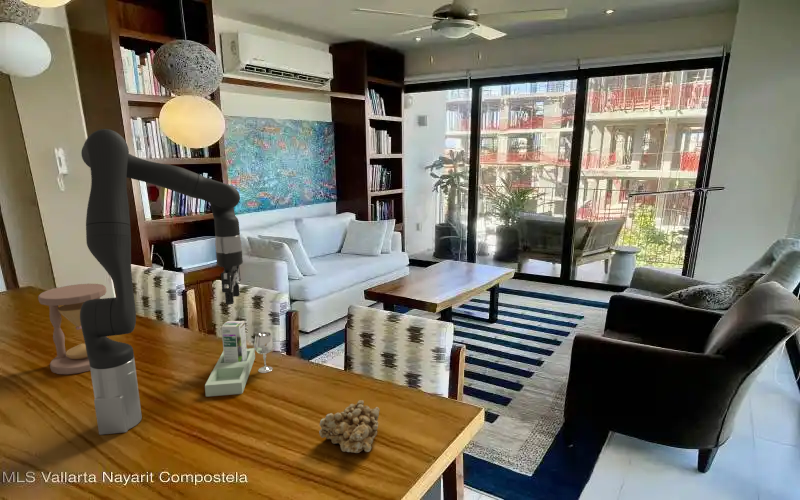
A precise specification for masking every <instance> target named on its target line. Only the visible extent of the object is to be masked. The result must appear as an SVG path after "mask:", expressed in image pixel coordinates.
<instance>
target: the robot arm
mask: <svg viewBox="0 0 800 500" xmlns="http://www.w3.org/2000/svg"><path fill="white" fill-rule="evenodd" d="M129 151H130V149H129V147H128V143H127V141H126V140H125V139H124V137H123V136H122V135H121V134H120V133H118V132H117V131H114V130H113V129H109V128H104V129H98V130H96V131H94V132H93V131H92V133H91V134H89V135H88V137H87V138H86V140H85V141H84V144H83V145H82V149H81V158H82V160H83V162H84V164H85V165H87V167H88V168H90V169H89V170H90V176H91V179H90V180H91V185H90V193H89V197H88V203H87V209H86V215H85V216H86V217H85V231H86V232H85V233H86V234H85V237H86V239H85V240H86V245H87V248H88V251H89V252H90V253H91V255H93V257H94V258H95V260H96V261H97V262H99V265H100V266H102V268H104V270H105V271H106V272H107V274H108V275H109V277H110V278H111V280H112V282H113V284H114V288H115V292H116V297H108V298H107V297H105V298H100V299H93V300H88V301H85V302H84V303H83V305H82V307H81V310H80V322H81V328H82V329H81V333H82V336H83V341H84V344H85V346H86V351H87V356H88V359H89V364H90V376H91V384H92V388H93V389H92V391H93V397H94V399H93V401H94V409H95V416H96V424H97V429H98V435H100V436H103V435H109V434H110V435H111V434H121V433H122V434H123V433H127V432H128V430H131V429H132V428H134V427H136V426H137V425H139V423H140V422H141V421H142V418H143V417H142V410H141V408H142V407H141V399H140V393H139V392H140V391H139V385H138V378H137V368H136V362H135V360H136V359H135V354H134V348H133V346H132V345H131V344H128V343H126V342H121V341H116V340H113V339H111V338H109V337H111V336H112V337H113V336H121V335H127V334H128V335H129V334H131V333H133V332H134V330H135V327H136V322H137V310H136V301H135V293H134V292H135V291H134V285H133V275H132V273H133V272H132V236H131V235H132V232H131V230H132V229H131V219H130V206H129V205H130V204H129V198H128V197H129V196H128V189H127V188H128V187H127V179H133V180H137V181H141V182H143V183H149V184H152V185H155V186H157V187H161V188H163V189H167V190H170V191H173V192H175V193H178V194H181V195H184V196H186V197H190V198H193V199H198V200H202V201H205V202H207V203H209V205H210V209H211V212H212V216H213V220H214V221H213V222H214V234H215V241H214V242H215V255H216V256H215V257H216V265H217V266H218V267H220V268H221V267H222V268H223V271H222V272H221V273H220V279H221V280H220V281H221V292H222V293H224V297H225V298H224V299H225V304H226V305H233V304H234V303H235V301H234V298H235V297H239V296H240V294H241V293H240V283H241V280H242V278H241V270H240V266H241V265H243V263H244V261H243V260H244V259H243V258H244V257H243V246H242V240H241V235H240V234H241V232H240V222H239V219H238V217H237V216H236V212H235V207H236V206H237V205H238V204H239V203H240V200H241V195H240V193H239V191H238V190H237V188H235V187H234V186H232V185H230V184H227V183H224V182H221V181H218V180H215V179H212V178H208V177H206V176H204V175H201V174H199V173H196V172H194V171H191V170H189V169H186V168H184V167H180V166H178V165H177V166H176V165H172V164H165V163H161V162H155V161H151V160H146V159H143V158H139V157H138V156H135V155H133V154H131V153H129ZM106 336H107V337H106Z"/></svg>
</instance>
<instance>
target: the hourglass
mask: <svg viewBox="0 0 800 500" xmlns="http://www.w3.org/2000/svg"><path fill="white" fill-rule="evenodd" d="M106 293H107V287H106V286H105V285H104V284H101V283H79V284H78V283H77V284H71V285H69V284H68V285H64V286H60V287H55V288H52V289H51V288H50V289H48V290H45V291H43V292H40V294H39V295H38V296H37V299H38V302H39V304H40V305H44V306H48V308H49V321H50V322H51V325H52V326H53V333H52V334H53V335H52V339H53V343H54V345H55V350H56V356H55V357H54V358H53V359H52V360H51V361H50V363H49V368H50V370H51V371H50V372H52V373H54V374H57V375H72V374H73V375H75V374H81V373H85V372H89V371H90V372H91V370H90V364H89V359H88V356H87V351H86V346H85V343H80V344H78V345H76V346H73V347H71V348H69V349H67V350H66V346H65V343H66V342H65V341H66V340H65V339H66V338H65V337H66V336H65V333H64V332H63V330H62V328H61V324H62V316H63V317H64V318H65V319H67V320H68V321H69V322H70V323H72V324H73V325H74V326H75V329H76V330H78V331H79V330H82V328H81V322H80V310H81V307H82V305H83V303H84V302H85V301H88V300H93V299H101V297H103V296H105V295H106ZM106 337H107V338H108V336H106Z"/></svg>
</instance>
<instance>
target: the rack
mask: <svg viewBox="0 0 800 500" xmlns="http://www.w3.org/2000/svg"><path fill="white" fill-rule="evenodd" d="M255 359H256V350H255V347H252V348H247V361H243V362H229V363H224V350H223V351H222V353H221V355H220V357H219V358H218V360H217V362H216V364H215V366H214V368H213V370H212V371H211V372H210V375H209V377H208V379H207V380H206V382H205V384H204V391H205V397H218V396H229V395H230V396H231V395H241V394H243V393H244V391H245V387H246V384H247V382H248V379H249V376H250V373H251V370H252V368H253V365H254V362H255Z"/></svg>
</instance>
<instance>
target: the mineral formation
mask: <svg viewBox="0 0 800 500" xmlns="http://www.w3.org/2000/svg"><path fill="white" fill-rule="evenodd" d="M380 411H381V410H380V407H378V406H376V407H374V408H370V406H369V405H365V403H364V400H363V399H362V400H361V399H359V400H358V401H357V403H355V404H354V403H350V404H349V405H348V406H347V407H345V409H343V411H341V412H335V413H334V414H333V412H330V413H327V414H326V415H325V418H321V420H320V422H319V427H320V428H321V429H319V431H318V432H319V433H318V434H319V436H320V438H322V439H323V438H326V440H331V443H332V444H335V445H336V444H339V445H340V450H341V452H347V453H355V454H359V453H360V452H362V451H363V450H364V452H365V453H369V452H371V450H372V444H373V442H374V439H375V437H376V436H377V435H378V429H379V421H378V420H379V415H380Z"/></svg>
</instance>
